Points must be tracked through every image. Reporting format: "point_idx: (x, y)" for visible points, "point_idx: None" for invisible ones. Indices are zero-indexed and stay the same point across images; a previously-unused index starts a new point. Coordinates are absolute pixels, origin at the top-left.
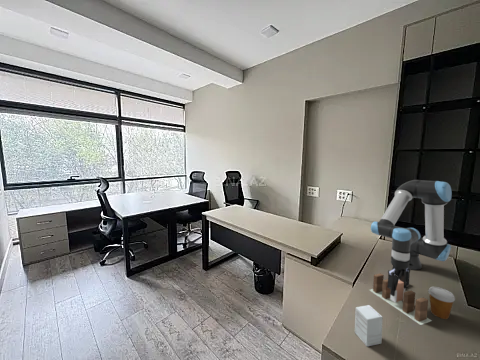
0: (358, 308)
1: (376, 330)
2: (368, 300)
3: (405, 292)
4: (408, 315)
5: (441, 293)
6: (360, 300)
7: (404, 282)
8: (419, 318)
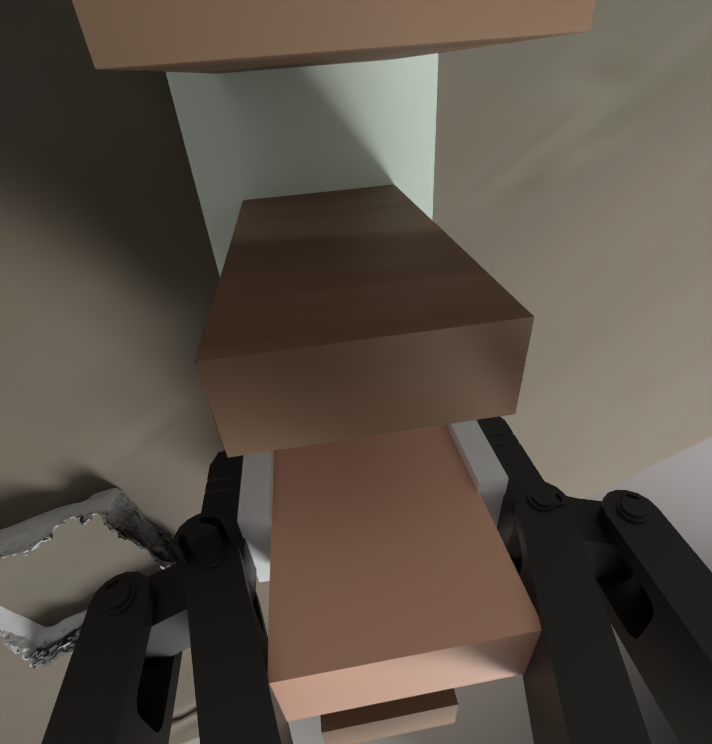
0: None
1: None
2: (558, 428)
3: (468, 410)
4: (408, 146)
5: None
6: (620, 436)
7: (262, 687)
8: None
